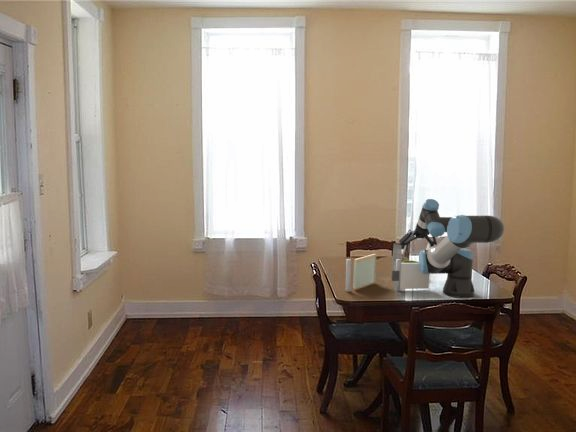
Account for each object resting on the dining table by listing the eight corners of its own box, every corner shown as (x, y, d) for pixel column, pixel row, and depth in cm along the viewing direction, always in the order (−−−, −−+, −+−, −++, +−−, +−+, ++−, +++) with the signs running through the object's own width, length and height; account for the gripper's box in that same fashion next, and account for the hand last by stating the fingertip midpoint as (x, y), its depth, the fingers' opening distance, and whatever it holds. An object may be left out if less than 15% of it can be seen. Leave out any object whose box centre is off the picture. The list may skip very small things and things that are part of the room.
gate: (355, 288, 289) (356, 259, 287) (353, 288, 290) (354, 259, 288) (375, 281, 304) (376, 254, 302) (372, 281, 305) (374, 253, 303)
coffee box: (399, 267, 345) (400, 240, 343) (409, 269, 341) (410, 242, 338) (391, 269, 338) (393, 242, 336) (401, 271, 334) (402, 244, 332)
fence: (429, 291, 291) (431, 260, 289) (346, 292, 285) (347, 260, 283) (427, 289, 294) (428, 258, 292) (344, 290, 289) (345, 259, 287)
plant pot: (418, 280, 314) (419, 264, 313) (401, 278, 316) (402, 263, 315) (418, 276, 323) (419, 261, 322) (401, 275, 325) (402, 259, 324)
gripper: (445, 219, 301) (434, 247, 315) (399, 219, 298) (390, 247, 312) (449, 229, 296) (438, 257, 310) (402, 229, 292) (393, 257, 307)
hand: (414, 252), depth 311 cm, fingers open, 13 cm apart
